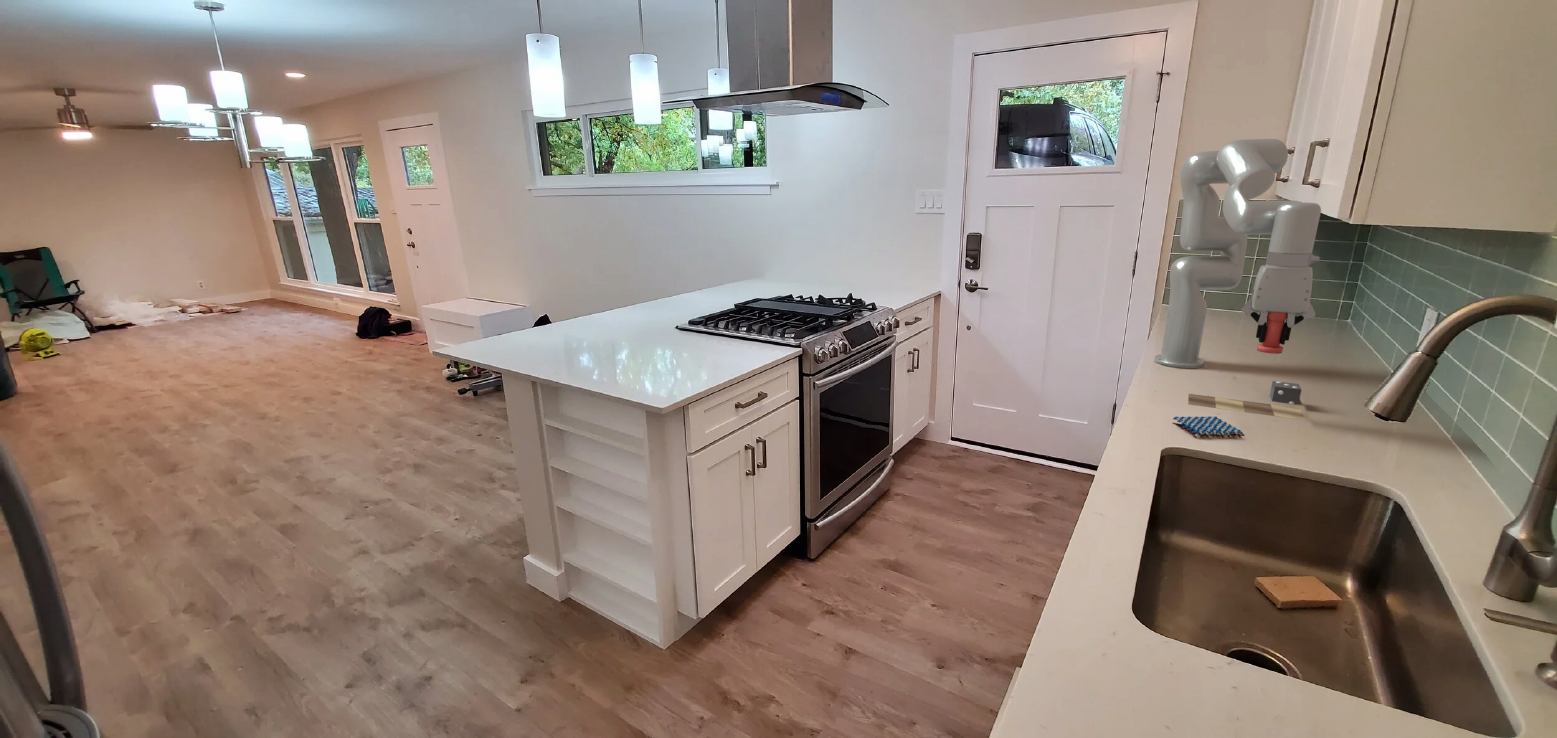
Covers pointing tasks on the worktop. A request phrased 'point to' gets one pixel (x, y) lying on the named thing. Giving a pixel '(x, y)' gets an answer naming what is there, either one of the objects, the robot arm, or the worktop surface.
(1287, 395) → the die
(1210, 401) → the board
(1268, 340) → the pawn
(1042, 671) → the worktop surface
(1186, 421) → the woven mat
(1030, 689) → the worktop surface
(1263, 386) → the worktop surface
